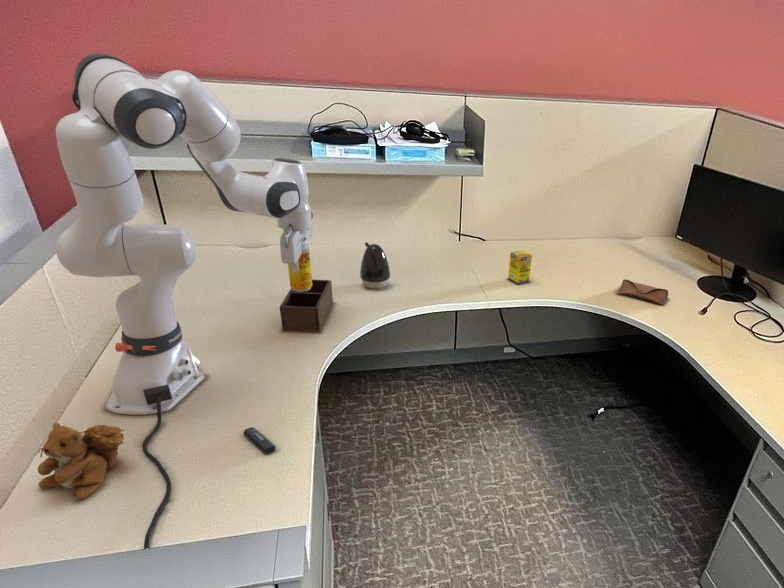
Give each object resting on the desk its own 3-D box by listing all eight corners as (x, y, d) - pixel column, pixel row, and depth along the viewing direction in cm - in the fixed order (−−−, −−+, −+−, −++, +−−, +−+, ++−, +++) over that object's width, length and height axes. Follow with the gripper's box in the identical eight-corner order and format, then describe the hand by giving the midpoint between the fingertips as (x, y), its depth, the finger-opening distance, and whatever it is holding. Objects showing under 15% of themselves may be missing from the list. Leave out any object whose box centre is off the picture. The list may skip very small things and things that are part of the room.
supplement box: (517, 285, 210) (520, 257, 204) (507, 279, 214) (510, 252, 208) (529, 281, 214) (532, 254, 208) (519, 276, 217) (521, 249, 212)
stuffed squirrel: (34, 490, 106) (9, 436, 99) (105, 447, 118) (86, 395, 111) (72, 507, 104) (49, 452, 97) (141, 461, 115) (124, 409, 108)
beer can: (306, 293, 161) (300, 244, 154) (286, 290, 162) (280, 240, 154) (316, 285, 166) (312, 237, 159) (297, 282, 167) (292, 233, 160)
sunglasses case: (616, 293, 210) (621, 276, 210) (618, 296, 217) (623, 280, 217) (663, 305, 205) (669, 287, 205) (664, 308, 212) (669, 291, 211)
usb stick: (277, 450, 122) (276, 444, 121) (265, 455, 120) (264, 450, 119) (254, 430, 127) (253, 424, 126) (242, 435, 125) (241, 429, 124)
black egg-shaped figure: (379, 277, 204) (378, 237, 197) (396, 287, 198) (395, 246, 191) (354, 283, 198) (352, 242, 190) (371, 294, 192) (369, 251, 184)
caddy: (319, 332, 166) (317, 308, 162) (282, 331, 165) (279, 306, 161) (333, 302, 184) (331, 280, 180) (299, 301, 183) (296, 278, 179)
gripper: (296, 232, 145) (302, 282, 152) (314, 209, 163) (318, 254, 170) (271, 231, 145) (277, 280, 152) (291, 207, 162) (296, 253, 169)
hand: (299, 266), depth 161 cm, fingers closed on beer can, 6 cm apart
